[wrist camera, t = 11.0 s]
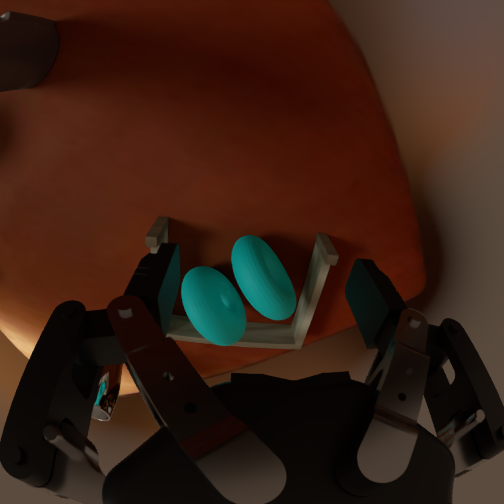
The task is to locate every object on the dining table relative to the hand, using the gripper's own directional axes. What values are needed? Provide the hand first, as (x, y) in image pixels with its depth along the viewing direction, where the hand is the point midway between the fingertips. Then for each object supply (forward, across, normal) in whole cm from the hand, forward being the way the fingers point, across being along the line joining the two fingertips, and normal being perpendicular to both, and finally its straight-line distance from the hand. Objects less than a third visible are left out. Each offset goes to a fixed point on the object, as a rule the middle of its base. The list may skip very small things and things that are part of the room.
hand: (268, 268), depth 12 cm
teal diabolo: (+19, 0, +13) cm, 23 cm away
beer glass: (+19, +21, +31) cm, 41 cm away
